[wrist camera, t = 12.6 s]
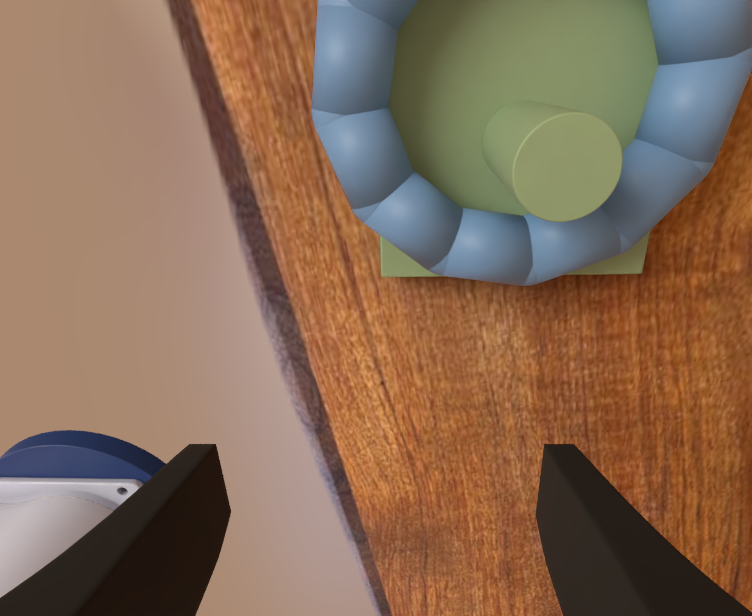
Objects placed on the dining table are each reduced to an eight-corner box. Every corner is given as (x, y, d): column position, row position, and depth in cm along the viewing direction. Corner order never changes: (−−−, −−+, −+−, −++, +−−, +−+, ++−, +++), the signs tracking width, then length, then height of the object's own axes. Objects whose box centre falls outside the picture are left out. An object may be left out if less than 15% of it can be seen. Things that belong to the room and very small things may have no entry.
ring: (405, 313, 18) (405, 342, 16) (251, -34, 14) (225, -52, 12) (746, 190, 16) (794, 207, 14) (685, -276, 12) (743, -348, 10)
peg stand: (382, 266, 19) (372, 347, 13) (373, -15, 15) (353, -67, 10) (628, 262, 18) (726, 346, 13) (683, -31, 15) (857, -96, 9)
